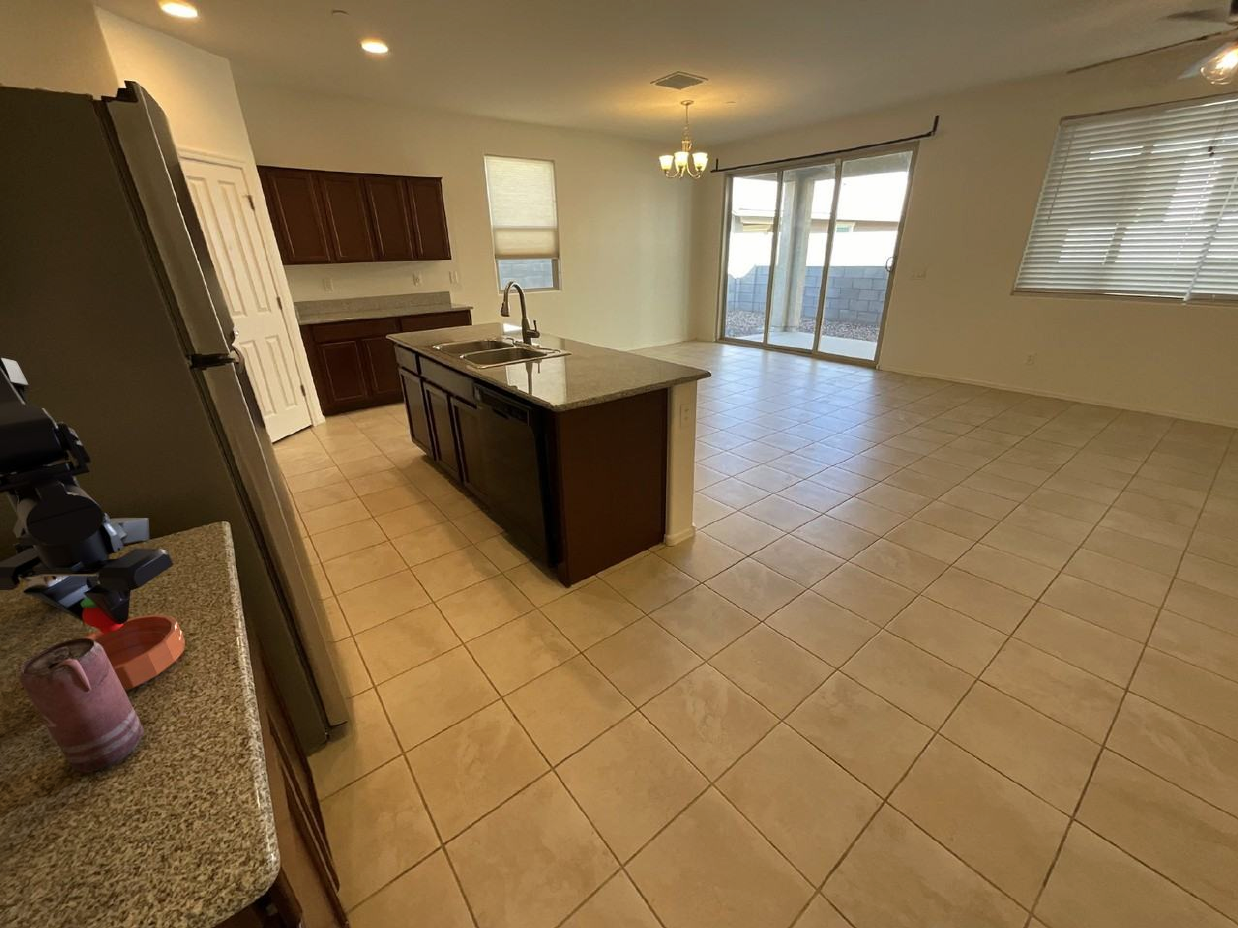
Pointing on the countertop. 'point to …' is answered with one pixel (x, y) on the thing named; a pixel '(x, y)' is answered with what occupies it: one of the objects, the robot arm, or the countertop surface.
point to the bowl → (141, 647)
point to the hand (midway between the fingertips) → (108, 622)
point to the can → (82, 703)
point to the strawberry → (97, 617)
